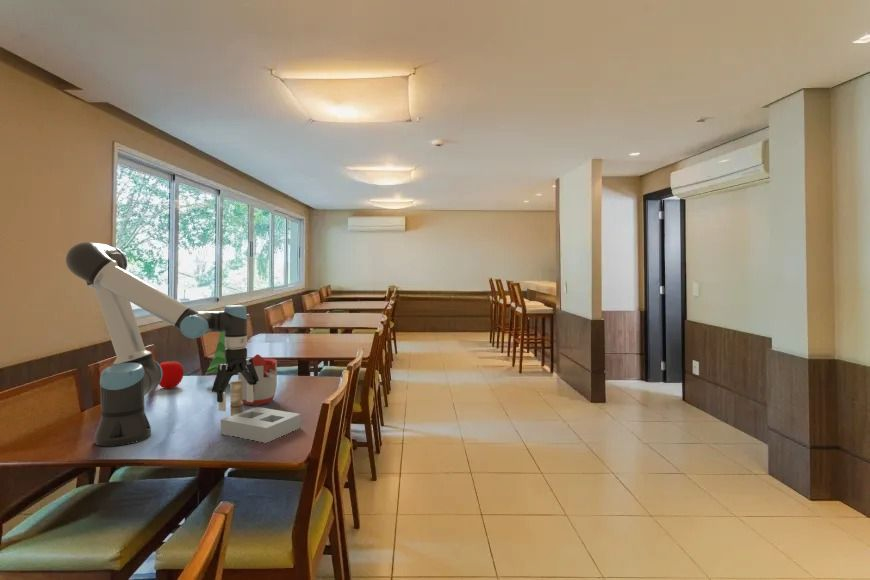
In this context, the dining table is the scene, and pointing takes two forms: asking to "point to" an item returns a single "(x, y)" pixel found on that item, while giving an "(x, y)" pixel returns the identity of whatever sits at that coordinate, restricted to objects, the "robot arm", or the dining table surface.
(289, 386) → the dining table surface
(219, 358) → the decorative tree
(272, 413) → the board
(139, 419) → the robot arm
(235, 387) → the peg
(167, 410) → the dining table surface
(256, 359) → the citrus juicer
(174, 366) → the red rounded piece
